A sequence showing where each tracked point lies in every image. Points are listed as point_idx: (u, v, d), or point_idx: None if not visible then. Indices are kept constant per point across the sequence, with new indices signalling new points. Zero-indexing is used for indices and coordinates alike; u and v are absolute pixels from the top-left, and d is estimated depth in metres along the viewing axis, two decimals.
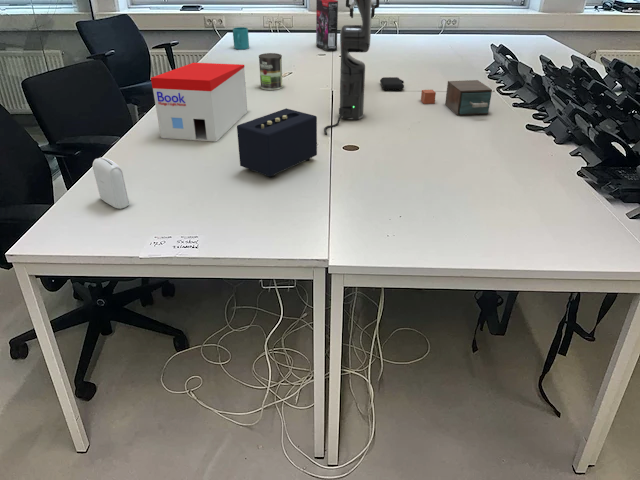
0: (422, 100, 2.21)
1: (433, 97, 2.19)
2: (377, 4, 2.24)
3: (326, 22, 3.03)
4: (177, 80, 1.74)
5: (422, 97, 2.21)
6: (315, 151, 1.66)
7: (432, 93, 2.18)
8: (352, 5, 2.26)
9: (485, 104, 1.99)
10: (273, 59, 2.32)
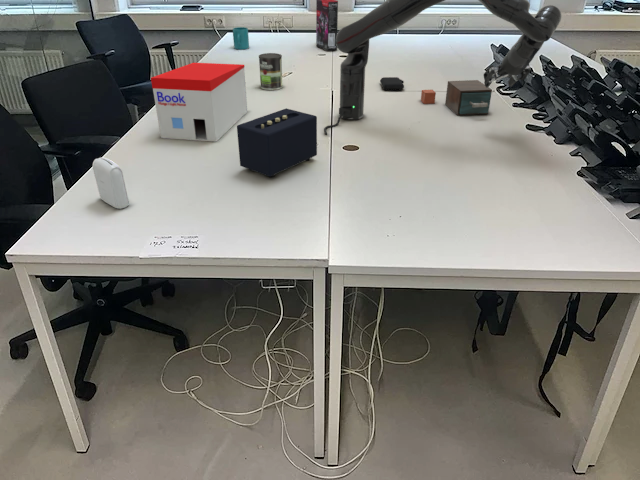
0: (422, 100, 2.21)
1: (433, 97, 2.19)
2: (523, 78, 1.79)
3: (326, 22, 3.03)
4: (177, 80, 1.74)
5: (422, 97, 2.21)
6: (315, 151, 1.66)
7: (432, 93, 2.18)
8: (493, 80, 1.79)
9: (485, 104, 1.99)
10: (273, 59, 2.32)
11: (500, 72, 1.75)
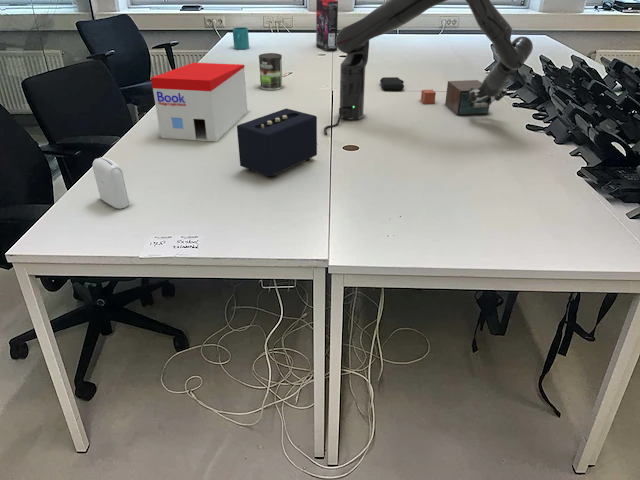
0: (422, 100, 2.21)
1: (433, 97, 2.19)
2: (498, 99, 1.96)
3: (326, 22, 3.03)
4: (177, 80, 1.74)
5: (422, 97, 2.21)
6: (315, 151, 1.66)
7: (432, 93, 2.18)
8: (476, 100, 1.96)
9: (485, 104, 1.99)
10: (273, 59, 2.32)
11: (480, 93, 1.91)
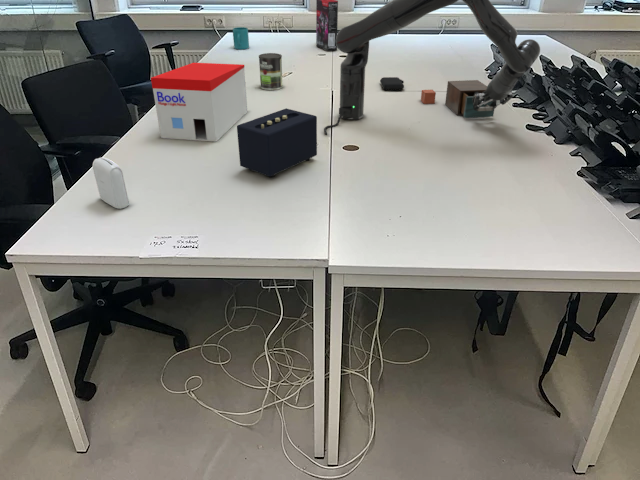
0: (422, 100, 2.21)
1: (433, 97, 2.19)
2: (504, 103, 1.92)
3: (326, 22, 3.03)
4: (177, 80, 1.74)
5: (422, 97, 2.21)
6: (315, 151, 1.66)
7: (432, 93, 2.18)
8: (481, 104, 1.91)
9: (490, 108, 1.95)
10: (273, 59, 2.32)
11: (485, 97, 1.87)
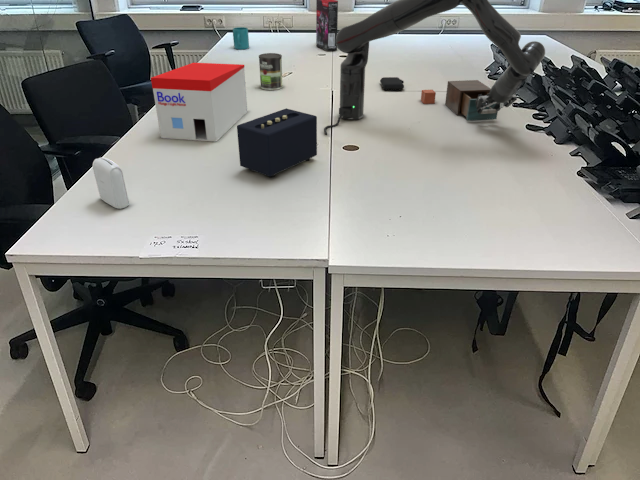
0: (422, 100, 2.21)
1: (433, 97, 2.19)
2: (507, 105, 1.89)
3: (326, 22, 3.03)
4: (177, 80, 1.74)
5: (422, 97, 2.21)
6: (315, 151, 1.66)
7: (432, 93, 2.18)
8: (484, 107, 1.89)
9: (493, 110, 1.93)
10: (273, 59, 2.32)
11: (489, 99, 1.84)
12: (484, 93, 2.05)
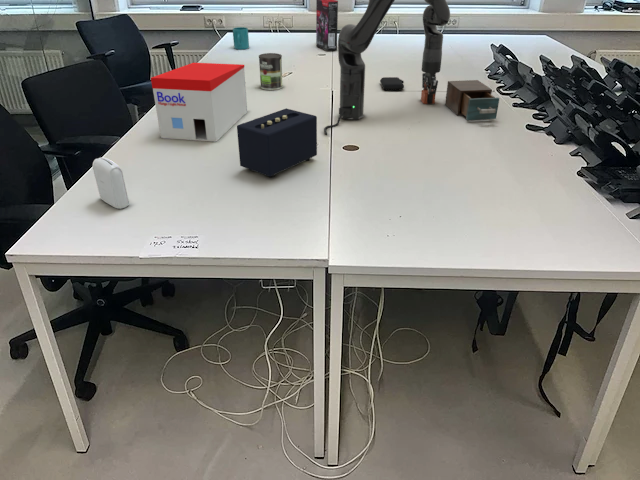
0: (422, 100, 2.21)
1: (433, 97, 2.19)
2: None
3: (326, 22, 3.03)
4: (177, 80, 1.74)
5: (422, 97, 2.21)
6: (315, 151, 1.66)
7: None
8: None
9: (493, 110, 1.93)
10: (273, 59, 2.32)
11: None
12: (484, 93, 2.05)
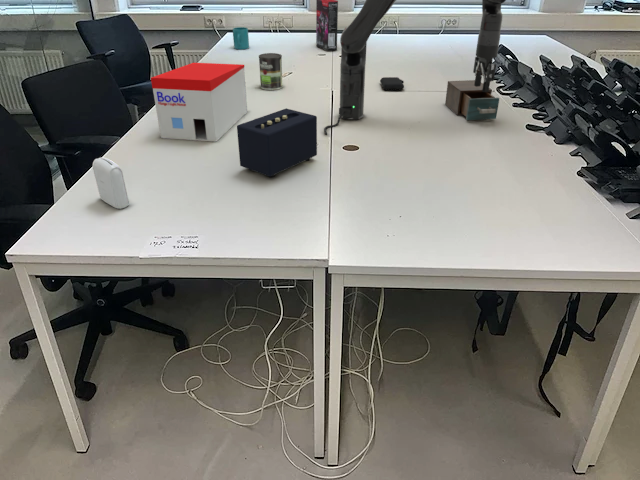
0: None
1: None
2: None
3: (326, 22, 3.03)
4: (177, 80, 1.74)
5: None
6: (315, 151, 1.66)
7: None
8: None
9: (493, 110, 1.93)
10: (273, 59, 2.32)
11: None
12: (484, 93, 2.05)
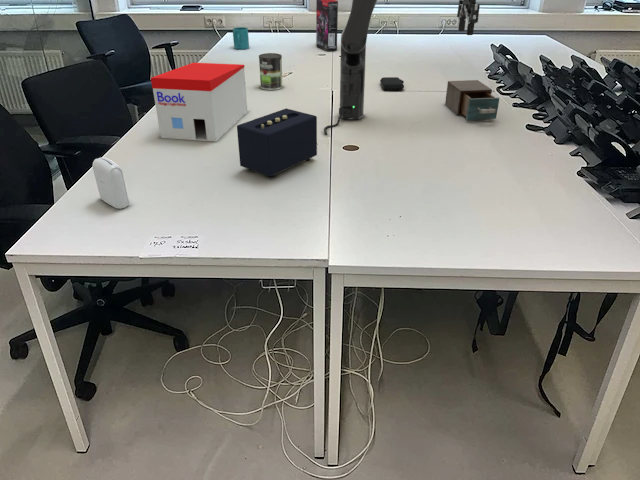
0: None
1: None
2: None
3: (326, 22, 3.03)
4: (177, 80, 1.74)
5: None
6: (315, 151, 1.66)
7: None
8: None
9: (493, 110, 1.93)
10: (273, 59, 2.32)
11: None
12: (484, 93, 2.05)
